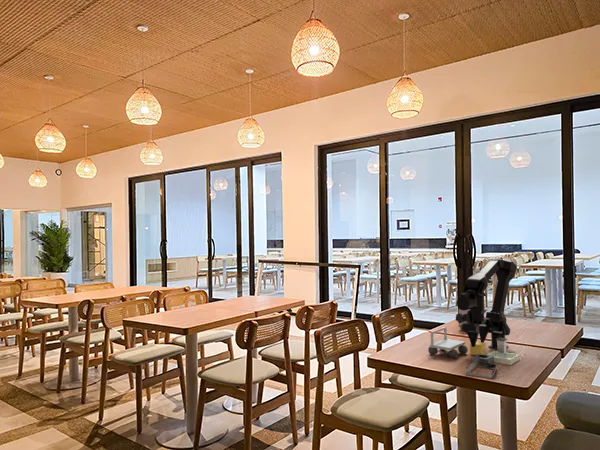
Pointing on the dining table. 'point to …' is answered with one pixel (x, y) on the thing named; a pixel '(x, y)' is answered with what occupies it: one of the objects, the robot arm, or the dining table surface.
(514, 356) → the tray
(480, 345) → the yellow block
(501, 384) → the dining table surface
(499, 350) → the stop pin
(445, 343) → the trolley
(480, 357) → the pin bracket
